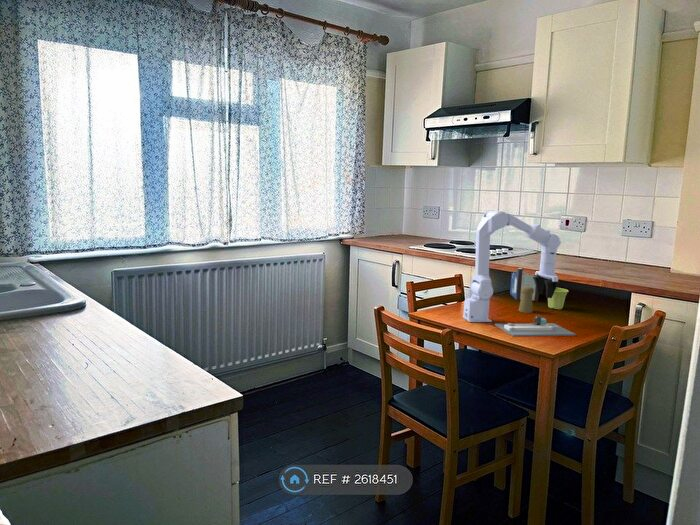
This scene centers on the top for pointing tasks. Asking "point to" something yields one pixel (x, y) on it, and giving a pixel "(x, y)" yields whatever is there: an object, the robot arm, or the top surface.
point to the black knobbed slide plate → (537, 323)
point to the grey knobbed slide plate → (534, 330)
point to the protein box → (522, 284)
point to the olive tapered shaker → (526, 300)
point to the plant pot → (557, 298)
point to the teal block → (543, 321)
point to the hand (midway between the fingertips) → (544, 295)
